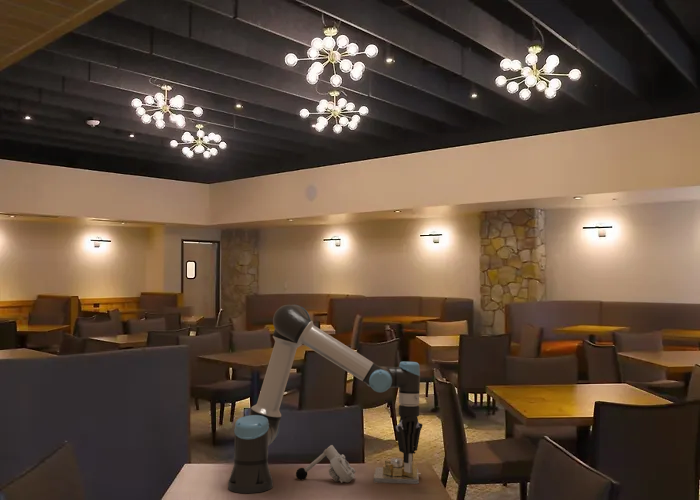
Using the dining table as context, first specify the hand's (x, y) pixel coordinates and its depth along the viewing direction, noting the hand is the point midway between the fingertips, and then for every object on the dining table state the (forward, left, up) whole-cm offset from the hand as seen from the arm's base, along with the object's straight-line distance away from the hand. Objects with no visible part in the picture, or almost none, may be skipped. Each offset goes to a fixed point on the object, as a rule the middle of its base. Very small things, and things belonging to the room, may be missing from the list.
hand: (407, 471), depth 218 cm
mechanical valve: (-30, -2, -4) cm, 30 cm away
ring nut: (-3, +5, -2) cm, 6 cm away
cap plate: (-4, +6, -3) cm, 8 cm away
